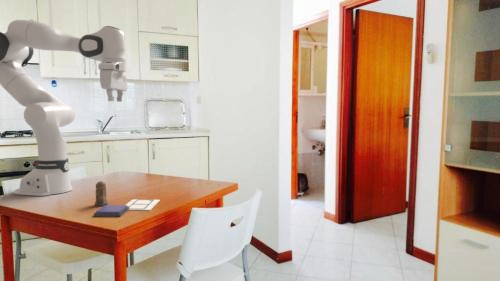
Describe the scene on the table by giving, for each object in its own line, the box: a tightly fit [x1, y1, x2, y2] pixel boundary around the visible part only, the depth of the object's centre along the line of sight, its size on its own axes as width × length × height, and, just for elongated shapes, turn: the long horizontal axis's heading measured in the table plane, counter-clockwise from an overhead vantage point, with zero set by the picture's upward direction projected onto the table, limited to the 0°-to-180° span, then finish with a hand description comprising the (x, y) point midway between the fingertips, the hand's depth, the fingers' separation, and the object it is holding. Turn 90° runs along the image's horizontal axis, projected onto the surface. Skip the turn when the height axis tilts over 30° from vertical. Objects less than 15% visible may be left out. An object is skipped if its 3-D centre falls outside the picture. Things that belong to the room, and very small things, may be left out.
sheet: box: [125, 198, 161, 211], centre depth 134 cm, size 11×14×1 cm
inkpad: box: [93, 204, 129, 218], centre depth 124 cm, size 9×9×2 cm
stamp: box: [94, 180, 109, 207], centre depth 134 cm, size 4×4×9 cm
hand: (115, 101), depth 146 cm, fingers open, 8 cm apart
